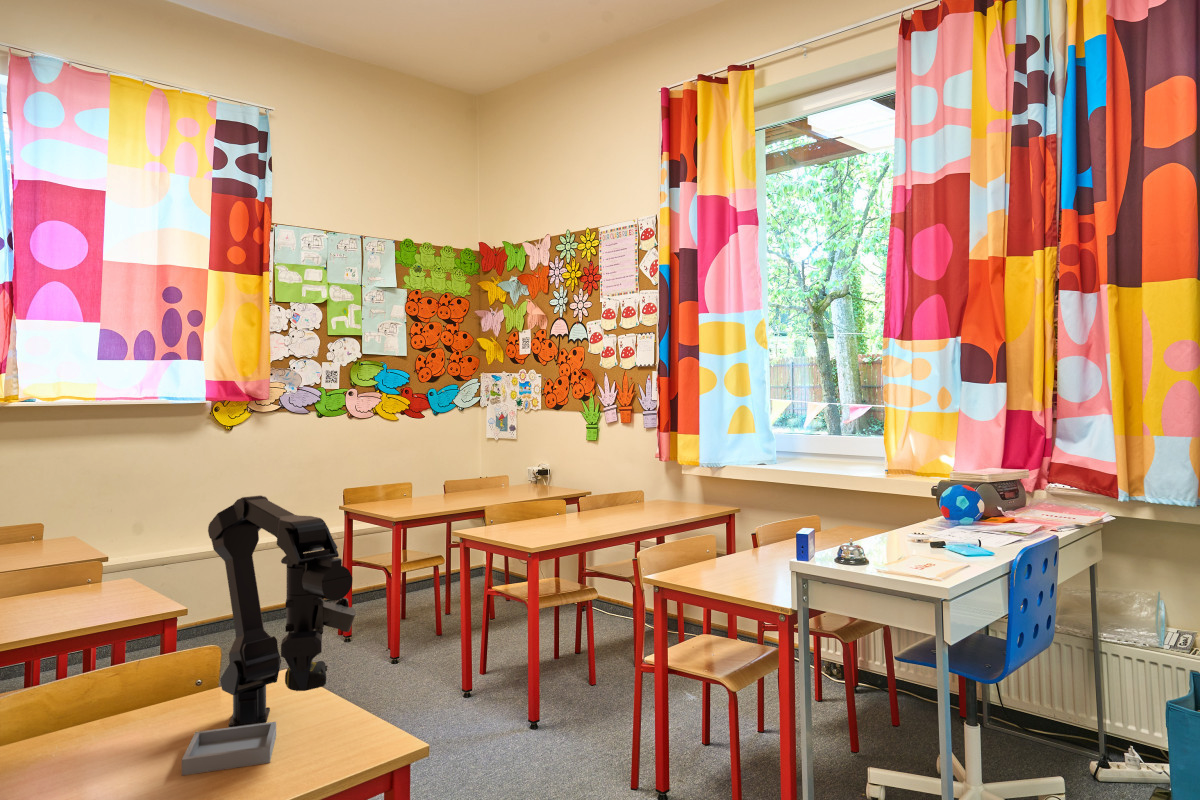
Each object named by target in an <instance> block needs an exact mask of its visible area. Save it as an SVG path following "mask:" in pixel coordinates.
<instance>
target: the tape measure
mask: <svg viewBox="0 0 1200 800" xmlns="http://www.w3.org/2000/svg"><path fill="white" fill-rule="evenodd" d="M327 671H328V665H326V661H324V660H319V661H312V663H311V668H310V673H309V678H308V683H307V687H306V688H304V689H300V688H299V686H298V684H297V682H296V680H295V678H294V676H293V674H292V672H291V670H290V668H289V667H288V668H287V669H286V671H285V675H284V683H285V685H286V687H287V688H288V689H289V690H291V691H295V692H305V691H311V690H314V689H315V690H316V689H319V688H322V687H324V686H326V683H327V673H326V672H327Z"/></svg>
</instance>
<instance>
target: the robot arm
mask: <svg viewBox="0 0 1200 800" xmlns="http://www.w3.org/2000/svg"><path fill="white" fill-rule="evenodd" d="M261 529H262V530H264V531H265V532H268V533H269V534H271V535H272V536H274V537H276V545H277V547H279V548H280V549H281V550H282V552H283V553H284V554H285V555H284V557H282V558H281V560H280V562H281V564H283V565H286V600H285V609H286V623H285V627H284V628H285V629H284V630H285V633H287V634H286V636H284V637H283V638H282V640H281V644H280V652H279V647H278V646H279V645H278V640H277V637H276V636H271V635H269V634H268V632H267V631H266V630H265V628H264V621H263V615H262V610H261V609H262V608H261V603H260V596H259V590H258V583H257V578H256V571H255V564H254V557H253V555H254V552H255V550H256V548H257V546H258V543H259V540H260V536H259V535H260V534H259V532H260V531H261ZM207 532H208V537H209V539H210V540H211V543H212V548H213V551H215V553H216V554H217V555H218V556H219V557H220V559H221V560H223V561H224V564H225V571H226V577H227V584H228V590H229V597H230V604H231V605H230V606H231V612H232V620H233V624H234V625H233V626H234V632H235V639H234V642H233V644H232V646H231V647H230V648H231V649H230V650H229V653H228V662H229V664H228V665H227V667H226V669H225V671H224V672H223V674H222V675H221V677H220V685H221V690H222V691H223V692H225V693H228V694H230V695H231V696H232V714H231V717H230V719H229V722H228V728H230V727H238V726H245V725H253V724H261V723H268V718H269V715H270V712H271V710H270V709H271V708H270V707H267V686H268V685H269V684H270V685H271V684H274V683H277V682H278V679H279V675H280V674H279V673H280V669H281V664H282V659H281V658H283V659H284V660H285V662H286V664H287V666H288V668H290V670H291V672H292V674H293V676H294V678H295V680H296V682H297V684H298V686H299V688H300V689H304V688H306V687H307V683H308V678H309V673H310V668H311V663H312V662H313V660H314V659H315V657H317V656H318V655H320V654H321V653H322V652H323V651H322V650H323V634H324V627H325V626H326V627H329V628H333V629H336V630H340V631H341V632H344V633H349V632H350V631H351V627H352V626H353V623H354V620H355V617H356V609H355V608H354V606H351V607H350V606H349V605H350V604H349V598H345V597H346V596H348V594H349V593H350V591H351V589H352V585H353V576H352V574H351V571H350V570H349V569H348V568H347V567H346V566H343V563H342V562H343V561H342V560H343V559H342V558H341V557H339V556H340V555H339V552H338V546H337V544H336V542H335V540H334V539H333V535H332V534H331V531H330V528H329V527H328V524H327V523H326V522H325V520H324V519H323V518H321V517H317V516H314V515H313V516H312V515H298V514H294V513H292V511H291V512H290V511H289V510H287V509H285V508H283V507H281V506H280V505H278V504H276V503H274V502H272V501H270V500H269V498H267V496H264V495H262V494H261V495H251V496H242V497H240V498H238V499H236V501H235V502H233V504H232V505H230V506H228V507H227V508H224V509H223V510H221V511H219V512H217V514H216V515H215V516H214V517H213V519H212V520H210V522H209V523H208V527H207ZM325 600H329V601H331V602H328V601H325ZM333 601H334V602H333Z"/></svg>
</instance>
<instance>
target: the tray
mask: <svg viewBox="0 0 1200 800" xmlns="http://www.w3.org/2000/svg"><path fill="white" fill-rule="evenodd" d="M276 738H277V721H267V722H265V723H258V724H250V725H242V726H235V727H223V728H216V729H209V730H200V731H199V730H198V731H195V732H194V734H193V736H192V738H191V741H190V743H189V744H188V746H187V749H186V750H185V752H184V754H183V756H182V758H181V776H189V775H195V774H202V773H208V772H214V771H215V772H216V771H222V770H230V769H235V768H245V767H251V766H256V765H262V764H270V763H271V759H272V755H273V752H274V751H273V750H274V746H275V742H276Z"/></svg>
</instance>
